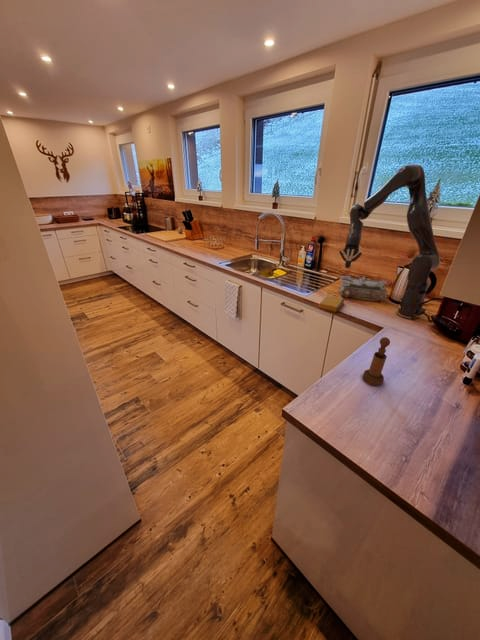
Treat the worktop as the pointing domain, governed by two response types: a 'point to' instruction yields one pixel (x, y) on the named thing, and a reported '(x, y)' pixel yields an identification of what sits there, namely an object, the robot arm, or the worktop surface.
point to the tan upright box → (331, 303)
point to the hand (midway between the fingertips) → (347, 267)
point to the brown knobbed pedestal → (377, 365)
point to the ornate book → (363, 288)
